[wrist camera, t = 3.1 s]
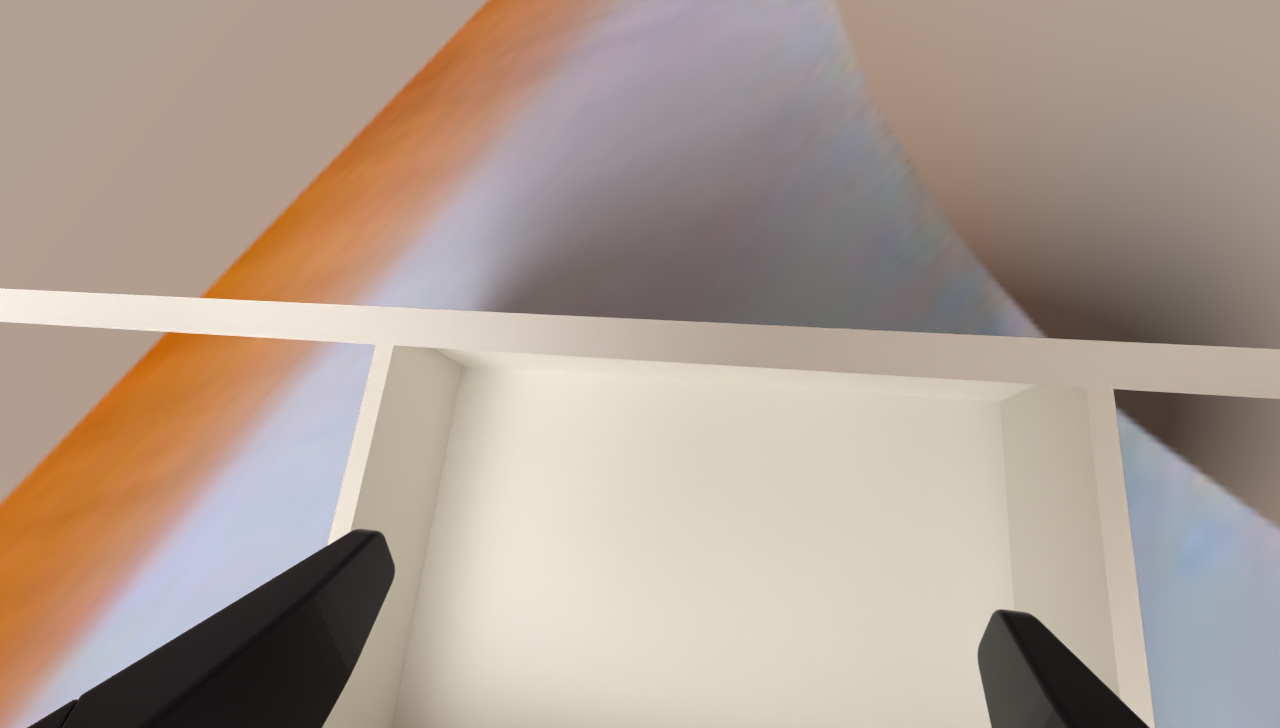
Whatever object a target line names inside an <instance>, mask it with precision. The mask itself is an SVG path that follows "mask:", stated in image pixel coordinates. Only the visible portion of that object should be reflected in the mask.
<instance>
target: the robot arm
mask: <svg viewBox="0 0 1280 728" xmlns="http://www.w3.org/2000/svg"><path fill="white" fill-rule="evenodd" d="M394 576H395V564H394V561H393V558H392V555H391V553H390V550H389V547H388V544H387V541H386V538H385V536H384V535H383V534H382V533H381V532H380V531H376V530H368V529H355V530H353V531H351V532H349V533H347V534H346V535H344V536H342V537H341V538H339V539H338V540H336V541H334V542H333V543H331V544H329V545H328V546H326V547H324V548H323V549H321V550H319V551H318V552H316V553H315V554H313V555H311V556H310V557H308V558H306V559H305V560H303V561H301V562H300V563H298V564H296V565H295V566H293V567H291V568H290V569H288V570H287V571H285V572H283V573H282V574H280V575H278V576H277V577H275V578H273V579H272V580H270V581H268V582H267V583H265V584H264V585H262V586H260V587H259V588H257V589H255V590H254V591H252V592H250V593H249V594H247V595H245V596H244V597H242V598H240V599H239V600H237V601H236V602H234V603H232V604H231V605H229V606H227V607H226V608H224V609H222V610H221V611H219V612H217V613H216V614H214V615H213V616H211V617H209V618H208V619H206V620H204V621H203V622H201V623H199V624H198V625H196V626H194V627H193V628H191V629H190V630H188V631H186V632H185V633H183V634H181V635H180V636H178V637H176V638H175V639H173V640H171V641H170V642H168V643H166V644H165V645H163V646H162V647H160V648H158V649H157V650H155V651H153V652H152V653H150V654H148V655H147V656H145V657H143V658H142V659H140V660H138V661H137V662H135V663H134V664H132V665H130V666H129V667H127V668H125V669H124V670H122V671H120V672H119V673H117V674H115V675H114V676H112V677H110V678H109V679H107V680H106V681H104V682H102V683H101V684H99V685H97V686H96V687H94V688H92V689H91V690H89V691H87V692H86V693H84V694H83V695H81V697H80V698H79V699H78V700H72V701H71V702H69V703H67V704H66V705H64V706H63V707H61V708H59V709H58V710H56V711H54V712H53V713H51V714H49V715H48V716H46V717H44V718H43V719H41V720H40V721H38V722H36V723H35V724H33V725H31V726H29V727H28V728H322V727H323V725H324V724H325V722H326V720H327V718H328V716H329V715H330V713H331V711H332V709H333V707H334V706H335V704H336V702H337V700H338V698H339V697H340V695H341V693H342V691H343V689H344V687H345V685H346V684H347V682H348V680H349V678H350V676H351V674H352V672H353V670H354V668H355V666H356V664H357V661H358V659H359V657H360V655H361V653H362V650H363V648H364V646H365V644H366V641H367V639H368V637H369V635H370V632H371V630H372V628H373V625H374V623H375V621H376V619H377V616H378V614H379V612H380V610H381V607H382V605H383V603H384V601H385V598H386V596H387V594H388V592H389V589H390V587H391V585H392V582H393V580H394ZM977 657H978V666H979V671H980V675H981V680H982V685H983V690H984V694H985V699H986V704H987V708H988V713H989V718H990V723H991V727H992V728H1150V727H1149V726H1148V725H1147V724H1146V723H1145V722H1144V721H1142V720H1141V719H1140V718H1139V717H1138V716H1137V715H1136V714H1135V713H1134V712H1133V711H1132V710H1131V709H1130V708H1129V707H1128V706H1127V705H1126V704H1125V703H1124V702H1123V701H1122V700H1121V699H1120V698H1119V697H1118V696H1117V695H1116V694H1115V693H1114V692H1113V691H1112V690H1111V689H1110V688H1109V687H1107V686H1106V685H1105V684H1104V683H1103V682H1102V681H1101V680H1100V679H1099V678H1098V677H1097V676H1096V675H1095V674H1094V673H1093V672H1092V671H1091V670H1090V669H1089V668H1088V667H1087V666H1086V665H1085V664H1084V663H1083V662H1082V661H1081V660H1080V659H1079V658H1078V657H1077V656H1076V655H1075V654H1073V653H1072V652H1071V651H1070V650H1069V649H1068V648H1067V647H1066V646H1065V645H1064V644H1063V643H1062V642H1061V641H1060V640H1059V639H1058V638H1057V637H1056V636H1055V635H1054V634H1053V633H1052V632H1051V631H1050V630H1049V629H1048V628H1047V627H1046V626H1045V625H1044V624H1043V623H1042V622H1041V621H1040V620H1038V619H1037V618H1036V617H1035V616H1033V615H1032V614H1029V613H1026V612H1021V611H1013V610H1005V609H998V610H996V611H995V612H993V614H992V616H991V618H990V620H989V622H988V625H987V627H986V629H985V632H984V634H983V636H982V639H981V641H980V643H979V647H978V656H977Z"/></svg>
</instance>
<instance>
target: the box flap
mask: <svg viewBox="0 0 1280 728" xmlns="http://www.w3.org/2000/svg"><path fill="white" fill-rule="evenodd" d="M0 322H16V323H31V324H48V325H65V326H82V327H97V328H114V329H115V328H116V329H130V330H147V331H164V332H180V333H197V334H213V335H230V336H246V337H263V338H279V339H296V340H312V341H329V342H345V343H362V344H378V345H395V346H412V347H428V348H445V349H461V350H478V351H494V352H511V353H527V354H544V355H560V356H577V357H593V358H610V359H627V360H643V361H660V362H676V363H693V364H709V365H726V366H742V367H759V368H775V369H792V370H808V371H825V372H841V373H858V374H875V375H891V376H908V377H924V378H941V379H957V380H974V381H990V382H1007V383H1023V384H1040V385H1056V386H1073V387H1090V388H1106V389H1123V390H1141V391H1156V392H1174V393H1189V394H1205V395H1206V394H1207V395H1223V396H1238V397H1255V398H1271V399H1280V349H1262V348H1240V347H1220V346H1198V345H1197V346H1196V345H1176V344H1155V343H1135V342H1114V341H1092V340H1072V339H1051V338H1030V337H1009V336H988V335H967V334H946V333H925V332H903V331H882V330H861V329H840V328H819V327H798V326H777V325H756V324H735V323H714V322H693V321H672V320H651V319H630V318H609V317H587V316H566V315H545V314H524V313H503V312H482V311H461V310H440V309H419V308H398V307H377V306H356V305H335V304H314V303H292V302H271V301H250V300H229V299H208V298H186V297H166V296H164V297H163V296H145V295H123V294H103V293H81V292H61V291H59V292H58V291H40V290H19V289H0Z"/></svg>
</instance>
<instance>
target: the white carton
mask: <svg viewBox="0 0 1280 728" xmlns="http://www.w3.org/2000/svg"><path fill="white" fill-rule="evenodd" d="M355 529H368V530H376V531H380V532H381V533H382V534H383V535H384V536H385V538H386V541H387V544H388V547H389V550H390V553H391V555H392V558H393V561H394V564H395V576H394V580H393V582H392V585H391V587H390V589H389V592H388V594H387V596H386V598H385V601H384V603H383V605H382V607H381V610H380V612H379V614H378V616H377V619H376V621H375V623H374V625H373V628H372V630H371V632H370V635H369V637H368V639H367V641H366V644H365V646H364V648H363V650H362V653H361V655H360V657H359V659H358V661H357V664H356V666H355V668H354V670H353V672H352V674H351V676H350V678H349V680H348V682H347V684H346V685H345V687H344V689H343V691H342V693H341V695H340V697H339V698H338V700H337V702H336V704H335V706H334V707H333V709H332V711H331V713H330V715H329V716H328V718H327V720H326V722H325V724H324V725H323V727H322V728H992V727H991V723H990V718H989V713H988V708H987V704H986V699H985V694H984V690H983V685H982V680H981V675H980V671H979V666H978V657H977V656H978V647H979V643H980V641H981V639H982V636H983V634H984V632H985V629H986V627H987V625H988V622H989V620H990V618H991V616H992V614H993V612H995V611H996V610H998V609H1005V610H1013V611H1021V612H1026V613H1029V614H1032V615H1033V616H1035V617H1036V618H1037V619H1038V620H1040V621H1041V622H1042V623H1043V624H1044V625H1045V626H1046V627H1047V628H1048V629H1049V630H1050V631H1051V632H1052V633H1053V634H1054V635H1055V636H1056V637H1057V638H1058V639H1059V640H1060V641H1061V642H1062V643H1063V644H1064V645H1065V646H1066V647H1067V648H1068V649H1069V650H1070V651H1071V652H1072V653H1073V654H1075V655H1076V656H1077V657H1078V658H1079V659H1080V660H1081V661H1082V662H1083V663H1084V664H1085V665H1086V666H1087V667H1088V668H1089V669H1090V670H1091V671H1092V672H1093V673H1094V674H1095V675H1096V676H1097V677H1098V678H1099V679H1100V680H1101V681H1102V682H1103V683H1104V684H1105V685H1106V686H1107V687H1109V688H1110V689H1111V690H1112V691H1113V692H1114V693H1115V694H1116V695H1117V696H1118V697H1119V698H1120V699H1121V700H1122V701H1123V702H1124V703H1125V704H1126V705H1127V706H1128V707H1129V708H1130V709H1131V710H1132V711H1133V712H1134V713H1135V714H1136V715H1137V716H1138V717H1139V718H1140V719H1141V720H1142V721H1144V722H1145V723H1146V724H1147V725H1148V726H1149V727H1150V728H1155V723H1154V715H1153V707H1152V699H1151V691H1150V682H1149V674H1148V666H1147V658H1146V650H1145V642H1144V634H1143V626H1142V618H1141V609H1140V601H1139V593H1138V585H1137V577H1136V569H1135V561H1134V553H1133V545H1132V536H1131V528H1130V520H1129V512H1128V504H1127V496H1126V488H1125V480H1124V472H1123V463H1122V455H1121V447H1120V439H1119V431H1118V423H1117V415H1116V407H1115V399H1114V391H1113V389H1106V388H1090V387H1073V386H1056V385H1040V384H1023V383H1007V382H990V381H974V380H957V379H941V378H924V377H908V376H891V375H875V374H858V373H841V372H825V371H808V370H792V369H775V368H759V367H742V366H726V365H709V364H693V363H676V362H660V361H643V360H627V359H610V358H593V357H577V356H560V355H544V354H527V353H511V352H494V351H478V350H461V349H445V348H428V347H412V346H395V345H378V344H376V346H375V351H374V355H373V359H372V363H371V367H370V371H369V375H368V379H367V384H366V388H365V392H364V396H363V400H362V404H361V408H360V412H359V417H358V421H357V425H356V429H355V433H354V437H353V441H352V445H351V450H350V454H349V458H348V462H347V466H346V470H345V474H344V478H343V483H342V487H341V491H340V495H339V499H338V503H337V507H336V512H335V516H334V520H333V524H332V528H331V532H330V536H329V540H328V545H329V544H331V543H333V542H334V541H336V540H338V539H339V538H341V537H342V536H344V535H346V534H347V533H349V532H351V531H353V530H355ZM328 545H327V546H328Z"/></svg>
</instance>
